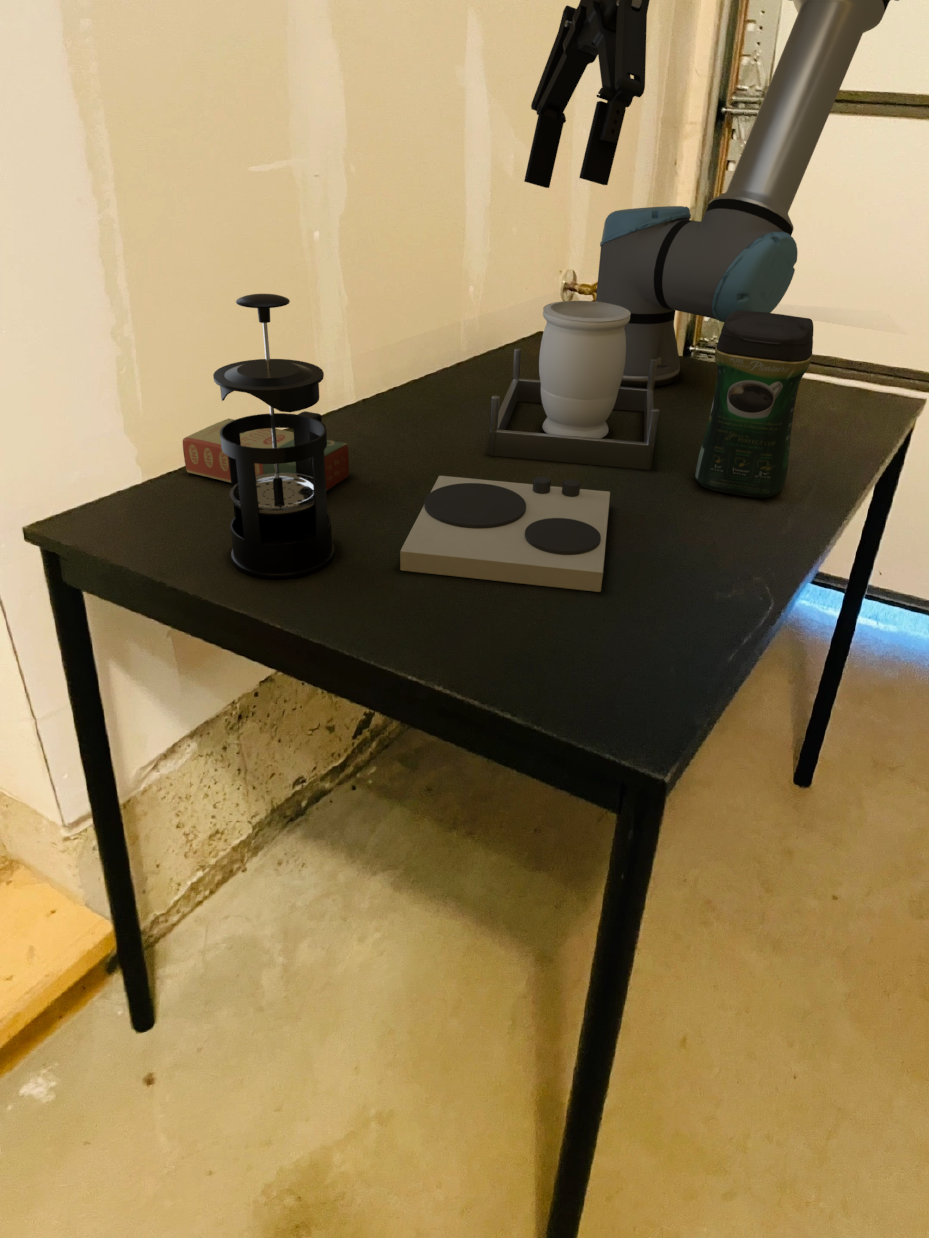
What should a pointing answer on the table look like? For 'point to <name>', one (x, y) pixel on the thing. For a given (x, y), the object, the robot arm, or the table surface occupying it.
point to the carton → (212, 462)
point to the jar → (581, 366)
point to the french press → (277, 496)
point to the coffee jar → (754, 402)
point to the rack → (573, 446)
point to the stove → (511, 533)
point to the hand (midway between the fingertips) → (563, 184)
